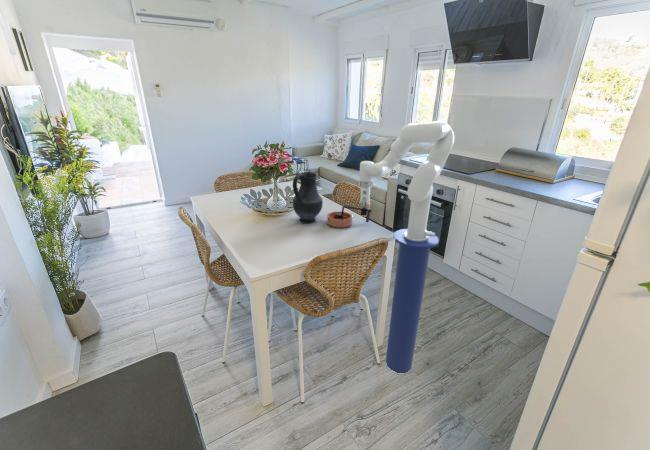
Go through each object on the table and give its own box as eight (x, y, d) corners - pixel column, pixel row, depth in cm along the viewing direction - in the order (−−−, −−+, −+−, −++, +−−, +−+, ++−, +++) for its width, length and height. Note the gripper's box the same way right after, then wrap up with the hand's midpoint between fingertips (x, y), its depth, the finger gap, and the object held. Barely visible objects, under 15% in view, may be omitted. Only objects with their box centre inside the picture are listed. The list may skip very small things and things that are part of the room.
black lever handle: (369, 220, 185) (372, 208, 183) (369, 223, 181) (371, 211, 178) (335, 214, 188) (336, 202, 185) (334, 217, 184) (335, 205, 181)
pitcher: (327, 219, 191) (328, 170, 179) (307, 230, 175) (306, 178, 163) (304, 213, 200) (304, 166, 188) (283, 223, 184) (281, 173, 172)
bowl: (352, 220, 191) (353, 212, 189) (350, 229, 177) (350, 221, 176) (329, 218, 193) (329, 210, 191) (325, 227, 180) (325, 219, 178)
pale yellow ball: (341, 221, 187) (343, 217, 188) (337, 219, 186) (339, 214, 186) (338, 220, 190) (340, 216, 190) (334, 218, 189) (337, 214, 189)
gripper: (371, 187, 168) (369, 219, 175) (373, 180, 182) (370, 210, 189) (357, 186, 169) (355, 218, 176) (360, 179, 183) (358, 209, 190)
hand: (363, 214), depth 182 cm, fingers closed on black lever handle, 1 cm apart
